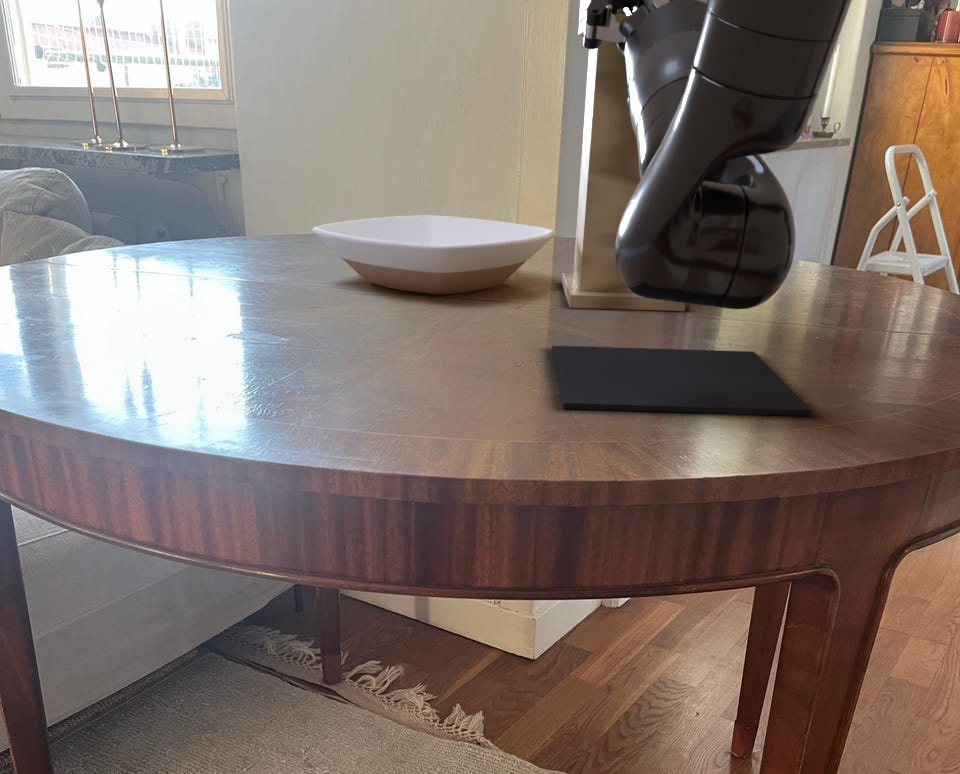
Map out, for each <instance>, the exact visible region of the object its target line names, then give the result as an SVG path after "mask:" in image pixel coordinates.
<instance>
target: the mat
mask: <svg viewBox="0 0 960 774" xmlns="http://www.w3.org/2000/svg"><path fill="white" fill-rule="evenodd" d="M551 354H552V358H553V362H554V368H555V374H556V379H557V385H558V390H559V395H560V399H561V400H560V401H561V405H562V409H563V410H593V411H594V410H596V411H597V410H598V411H623V412H625V411H627V412H628V411H629V412H658V413H659V412H661V413H663V412H664V413H692V414H693V413H695V414H724V415H725V414H729V415H731V414H732V415H756V416H757V415H761V416H764V415H765V416H791V417H792V416H793V417H795V416H796V417H810V415H811V412H812V411H811V409H810V408H809V407H808V406H807V404H806V403H804V402H803V401H802V399H800V397H798V395H797V394H795V392H794V391H792V390H791V389H790V387H789V386H788V385H787V384H786V383H785V382H784V381H783V380H782V379H781V378H780V377H779V376H778V375H777V374H776V373H775V371H774V370H772V369H771V368H770V366H769V365H768V364H766V363H765V361H764V360H762V358H761V357H760V356H759V355H758V354H757V353H756V352H755V351H746V350H714V349H713V350H712V349H710V350H709V349H682V348H681V349H680V348H648V347H647V348H645V347H615V346H612V347H609V346H580V345H578V346H577V345H551Z"/></svg>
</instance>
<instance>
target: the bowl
mask: <svg viewBox="0 0 960 774" xmlns="http://www.w3.org/2000/svg"><path fill="white" fill-rule="evenodd" d="M312 232H313V234H315V235H316V236H317V237H318V238H319V239H320V240H321V241H322V242H323V243H324V244H326V245H327V246H328V248H330V250H332V251H333V252H334V253H335V254H336V255H337V256H338V257H339V258H341V259H342V260H343V261H344V262H345V263H346V264H347V265H348V266H349V267H350V268H351V269H352V270H354V271H355V272H356V273H357V274H358V275H359V276H360V277H361V279H363V280H364V281H365V282H368V283H370V284H372V285H376V286H380V287H385V288H389V289H393V290H398V291H399V290H400V291H405V292H413V293H421V294H428V295H429V294H430V295H452V294H460V293H468V292H475V291H480V290H485V289H489V288H492V287H496V286H499V285H501V284H503V283H504V282H506V281H507V280H508V279H510V277H511V276H513V274H514V273H515V272H516V271H518V270H519V268H521V267H522V266H523V265H525V263H526V262H527V261H528V260H530V259H531V258H532V257H533V256H534V255H535V254H536V253H537V252H539V250H540V249H542V248H543V247H544V246H545V244H546V243H548V242H549V241H550V240H551V239H552V238H553V237H554V236H555V234H556V232H555V230H554V229H550V228H546V227H541V226H534V225H530V224H522V223H517V222H515V223H514V222H509V221H508V222H507V221H502V220H501V221H500V220H493V219H492V220H491V219H483V218H472V217H463V216H462V217H461V216H449V215H435V214H419V215H418V214H416V215H397V216H384V217H383V216H382V217H373V218H361V219H353V220H345V221H337V222H330V223H324V224H321V225H317V226H314V227H313V228H312Z"/></svg>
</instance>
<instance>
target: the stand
mask: <svg viewBox="0 0 960 774" xmlns="http://www.w3.org/2000/svg"><path fill="white" fill-rule="evenodd" d="M591 1H592V0H579V14H578V30H577V36H579V37H584V29H585V20H586V10H587V8H588V6H589V4H590V3H591ZM626 17H627V14H626V12H625V11H619V9H618V10H617V15H616V21H617V22H618V23H621V22H622V20H623V19H625V18H626ZM585 87H586V89H585V102H584V103H585V104H584V117H583V118H584V119H583V131H582V147H581V160H580V173H579V189H578V201H577V203H578V205H577V217H576V232H575V245H574V246H575V247H574V259H573V272H572V271H571V272H568V271H567V272H566V271H562V276H561V285H562V288H563V291H564V294H565V297H566V300H567V304H568V307H569V308H570V309H593V310H594V309H595V310H597V309H598V310H599V309H600V310H627V311H630V310H631V311H635V310H636V311H661V312H662V311H663V312H664V311H665V312H685V311H686V305H687V303H680V302H673V301H664V300H656V299H650V298H645V297H641V296H638V295H636V294H634V293H633V292H631V291H630V290H629V289H628V288H627V287H626V286H625V284H624V283H623V281H622V279H621V277H620V275H619V272H618V269H617V265H616V259H615V243H616V237H617V232H618V228H619V224H620V221H621V219H622V216H623V213H624V211H625V209H626V207H627V205H628V203H629V201H630V198H631V196H632V194H633V193H634V191H635V189H636V187H637V185H638V184H639V182H640V174H639V164H638V151H637V141H636V137H635V134H634V131H633V128H632V123H631V116H630V114H629V109H628V96H629V94H628V83H627V71H626V60H625V56H624V55H623V54H622V53H621V52H620V51H619V49H618V47H617V43H614V42H609V41H607V42H604V41H602V42H601V43H600V45H599V47H598V48H596V49H588V60H587V73H586V86H585Z"/></svg>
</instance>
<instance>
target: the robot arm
mask: <svg viewBox="0 0 960 774" xmlns="http://www.w3.org/2000/svg"><path fill="white" fill-rule="evenodd" d="M852 1H853V0H592V1H591V3H590V4H589V6H588V8H587V10H586V20H585V29H584V36H583V41H582V46H583V48H585V49H587V50H589V49H596V48H598V47H599V45H600V43H601V42H602V41H604V42H607V41H609V42H614V43H617V47H618V49H619V51H620V52H621V53H622V54H623V55H624V56H625V60H626V71H627V83H628V94H629V96H628V109H629V114H630V116H631V123H632V128H633V131H634V134H635V137H636V141H637V151H638V164H639V174H640V182H639V184H638V185H637V187H636V189H635V191H634V193H633V194H632V196H631V198H630V201H629V203H628V205H627V207H626V209H625V211H624V213H623V216H622V219H621V221H620V224H619V228H618V232H617V237H616V243H615V259H616V265H617V269H618V272H619V275H620V277H621V279H622V281H623V283H624V284H625V286H626V287H627V288H628V289H629V290H630V291H631V292H633V293H634V294H636V295H638V296H641V297H645V298H650V299H656V300H664V301H673V302H680V303H686V304H688V305H689V304H690V305H696V306H697V305H698V306H706V307H714V308H719V309H726V310H748V309H752V308H753V309H754V308H755V307H758V306H760V305H762V304H764V303H765V302H767V301H768V300H770V299H771V298H772V297H773V296H774V295H775V294H776V293H777V292H778V291H779V289H780V288H781V287H782V285H783V284H784V282H785V281H786V279H787V277H788V275H789V272H790V270H791V267H792V265H793V261H794V256H795V251H796V227H795V226H796V225H795V218H794V213H793V209H792V206H791V204H790V201H789V197H788V196H787V194H786V191H785V188H784V187H783V185H782V183H781V182H780V181H779V179H778V177H777V176H776V175H775V173H774V172H773V171H772V170H771V168H770V167H769V165H768V164H767V162H766V161H765V159H764V158H763V157H762V155H766V154H774V153H778V152H782V151H785V150H787V149H790V148H791V147H792V146H794V145H795V144H796V143H797V142H798V141H799V139H800V138H801V137H802V135H803V134H804V133H805V130H806V128H807V125H808V123H809V121H810V119H811V115H812V114H813V110H814V107H815V105H816V102H817V100H818V97H819V92H820V91H821V88H822V85H823V83H824V79H825V76H826V75H827V71H828V69H829V65H830V63H831V60H832V58H833V54H834V52H835V50H836V46H837V43H838V40H839V38H840V35H841V32H842V30H843V26H844V24H845V21H846V18H847V15H848V12H849V10H850V6H851V4H852ZM623 8H624V11H625V12H626V14H627V17H626V18H625V19H623V20H622V22H621V23H618V22H617V21H616V15H617V10H618V9H623Z"/></svg>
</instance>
